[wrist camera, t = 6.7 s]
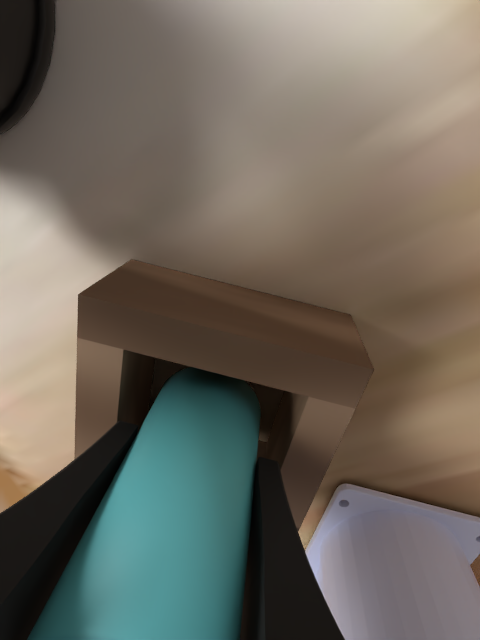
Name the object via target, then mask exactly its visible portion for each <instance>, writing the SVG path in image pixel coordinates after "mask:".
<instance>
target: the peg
mask: <svg viewBox="0 0 480 640" xmlns="http://www.w3.org/2000/svg"><path fill="white" fill-rule="evenodd" d="M260 417H261V409H260V404H259V401H258V398H257V396H256V394H255V392H254V391H253V389H252V388H251V387H250V386H249V385H248V384H247V382H245V381H244V380H241V379H237V378H233V377H229V376H225V375H221V374H218V373H214V372H210V371H206V370H202V369H198V368H194V367H188V368H185V369H182V370H180V371H178V372H176V373H175V374H173V375H172V376H171V377H170V378H169V379H168V380H167V381H166V382H165V383H164V385H163V387H162V389H161V391H160V392H159V394H158V396H157V398H156V400H155V402H154V404H153V405H152V407H151V409H150V411H149V413H148V415H147V417H146V419H145V420H144V422H143V424H142V426H141V428H140V430H139V432H138V433H137V435H136V437H135V439H134V441H133V443H132V445H131V446H130V448H129V450H128V452H127V454H126V456H125V458H124V460H123V461H122V463H121V465H120V467H119V469H118V471H117V473H116V474H115V476H114V478H113V480H112V482H111V484H110V486H109V488H108V489H107V491H106V493H105V495H104V497H103V499H102V501H101V502H100V504H99V506H98V508H97V510H96V512H95V514H94V515H93V517H92V519H91V521H90V523H89V525H88V527H87V529H86V530H85V532H84V534H83V536H82V538H81V540H80V542H79V543H78V545H77V547H76V549H75V551H74V553H73V555H72V557H71V558H70V560H69V562H68V564H67V566H66V568H65V570H64V571H63V573H62V575H61V577H60V579H59V581H58V583H57V584H56V586H55V588H54V590H53V592H52V594H51V596H50V598H49V599H48V601H47V603H46V605H45V607H44V609H43V611H42V612H41V614H40V616H39V618H38V620H37V622H36V624H35V626H34V627H33V629H32V631H31V633H30V635H29V637H28V639H27V640H240V632H241V621H242V611H243V600H244V589H245V578H246V568H247V557H248V546H249V535H250V525H251V514H252V503H253V491H254V481H255V470H256V460H257V449H258V438H259V428H260Z"/></svg>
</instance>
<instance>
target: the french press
mask: <svg viewBox="0 0 480 640" xmlns="http://www.w3.org/2000/svg"><path fill="white" fill-rule="evenodd" d="M54 32H55V3H54V0H0V134H2V133H3V132H5V131H7V130H9V129H11V128H12V127H13V126H14V125H15V124H16V123H17V122H18V121H19V120H20V119H21V118H22V117H23V116H24V115H25V114H26V113H27V112H28V110H29V108H30V107H31V105H32V103H33V102H34V100H35V98H36V97H37V95H38V94H39V92H40V90H41V87H42V84H43V81H44V79H45V76H46V73H47V70H48V67H49V64H50V59H51V52H52V46H53V39H54Z"/></svg>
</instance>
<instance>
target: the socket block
mask: <svg viewBox="0 0 480 640" xmlns="http://www.w3.org/2000/svg"><path fill="white" fill-rule="evenodd" d="M155 358H159V359H163V360H167V361H171V362H174V363H178V364H182V365H186V366H190V367H194V368H198V369H202V370H206V371H210V372H214V373H218V374H221V375H225V376H229V377H233V378H237V379H241V380H245V381H249V382H253V383H257V384H261V385H264V386H268V387H272V388H276V389H280V390H284V394H283V397H282V400H281V403H280V406H279V409H278V411H277V414H276V417H275V420H274V423H273V426H272V429H271V432H270V435H269V437H268V440H267V443H265V442H261V441H258V449H257V460H258V457H263V458H267V459H270V460H274V461H277V462H278V463H279V465H280V471H281V475H282V480H283V484H284V488H285V492H286V495H287V499H288V502H289V506H290V509H291V512H292V516H293V519H294V522H295V525H296V528H297V531H299V529H300V527H301V524H302V522H303V520H304V518H305V516H306V514H307V512H308V509H309V507H310V505H311V503H312V501H313V499H314V497H315V494H316V492H317V490H318V488H319V486H320V484H321V482H322V480H323V477H324V475H325V473H326V471H327V469H328V467H329V465H330V462H331V460H332V458H333V456H334V454H335V452H336V450H337V447H338V445H339V443H340V441H341V439H342V437H343V435H344V433H345V430H346V428H347V426H348V424H349V422H350V420H351V418H352V415H353V413H354V411H355V409H356V407H357V405H358V403H359V400H360V398H361V396H362V394H363V392H364V390H365V388H366V386H367V383H368V381H369V379H370V377H371V375H372V373H373V371H374V368H373V366H372V364H371V361H370V359H369V357H368V354H367V352H366V350H365V347H364V345H363V343H362V340H361V338H360V335H359V333H358V331H357V328H356V326H355V324H354V321H353V319H352V317H351V315H349V314H345V313H341V312H337V311H333V310H329V309H325V308H321V307H317V306H314V305H310V304H306V303H302V302H298V301H294V300H290V299H286V298H282V297H278V296H274V295H270V294H266V293H262V292H258V291H254V290H250V289H246V288H242V287H238V286H234V285H230V284H227V283H223V282H219V281H215V280H211V279H207V278H203V277H199V276H195V275H191V274H187V273H183V272H179V271H175V270H171V269H167V268H163V267H159V266H155V265H151V264H147V263H143V262H140V261H136V260H132V259H131V260H130V261H128V262H127V263H125V264H124V265H122V266H121V267H119V268H118V269H116V270H115V271H113V272H112V273H110V274H108V275H107V276H105V277H104V278H102V279H101V280H99V281H98V282H96V283H95V284H93V285H92V286H90V287H89V288H87V289H86V290H84V291H83V292H81V293H80V294H78V328H77V373H76V418H75V459H76V458H77V457H78V456H80V455H81V454H82V453H83V452H85V451H86V450H87V449H88V448H89V447H90V446H91V445H93V444H94V443H95V442H96V441H97V440H98V439H99V438H101V437H102V436H103V435H104V434H105V433H106V432H107V431H108V430H109V429H110V428H111V427H112V426H114V425H115V424H116V423H117V422H119V421H123V422H127V423H131V424H135V425H138V432H139V430H140V428H141V426H142V424H143V422H144V420H145V419H146V417H147V415H148V413H149V412H148V408H149V401H150V394H151V386H152V379H153V372H154V365H155ZM138 432H137V433H138ZM257 460H256V463H257Z"/></svg>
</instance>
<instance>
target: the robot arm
mask: <svg viewBox="0 0 480 640" xmlns="http://www.w3.org/2000/svg"><path fill="white" fill-rule="evenodd" d="M137 432H138V425H135V424H131V423H127V422H123V421H119V422H117V423H116V424H115V425H114V426H112V427H111V428H110V429H109V430H108V431H107V432H106V433H105V434H104V435H103V436H102V437H101V438H99V439H98V440H97V441H96V442H95V443H94V444H93V445H91V446H90V447H89V448H88V449H87V450H86V451H85V452H83V453H82V454H81V455H80V456H78V457H77V458H76V459H75V460H74V461H72V462H71V463H70V464H69V465H67V466H66V467H65V468H64V469H62V470H61V471H60V472H58V473H57V474H56V475H54V476H53V477H52V478H50V479H49V480H48V481H46V482H45V483H44V484H42V485H41V486H40V487H38V488H37V489H36V490H34V491H33V492H31V493H30V494H29V495H27V496H26V497H24V498H23V499H21V500H20V501H18V502H17V503H15V504H14V505H12V506H11V507H9V508H8V509H6V510H5V511H3V512H2V513H0V640H27V639H28V637H29V635H30V633H31V631H32V629H33V627H34V626H35V624H36V622H37V620H38V618H39V616H40V614H41V612H42V611H43V609H44V607H45V605H46V603H47V601H48V599H49V598H50V596H51V594H52V592H53V590H54V588H55V586H56V584H57V583H58V581H59V579H60V577H61V575H62V573H63V571H64V570H65V568H66V566H67V564H68V562H69V560H70V558H71V557H72V555H73V553H74V551H75V549H76V547H77V545H78V543H79V542H80V540H81V538H82V536H83V534H84V532H85V530H86V529H87V527H88V525H89V523H90V521H91V519H92V517H93V515H94V514H95V512H96V510H97V508H98V506H99V504H100V502H101V501H102V499H103V497H104V495H105V493H106V491H107V489H108V488H109V486H110V484H111V482H112V480H113V478H114V476H115V474H116V473H117V471H118V469H119V467H120V465H121V463H122V461H123V460H124V458H125V456H126V454H127V452H128V450H129V448H130V446H131V445H132V443H133V441H134V439H135V437H136V435H137ZM479 554H480V517H476V516H472V515H468V514H464V513H460V512H456V511H453V510H449V509H445V508H441V507H437V506H433V505H429V504H425V503H422V502H418V501H414V500H410V499H406V498H402V497H398V496H394V495H390V494H387V493H383V492H379V491H375V490H371V489H367V488H363V487H359V486H356V485H352V484H341V485H339V486H338V487H337V488H336V490H335V492H334V494H333V496H332V498H331V500H330V502H329V504H328V506H327V508H326V510H325V512H324V514H323V516H322V518H321V520H320V522H319V524H318V526H317V528H316V530H315V532H314V534H313V536H312V538H311V540H310V542H309V544H308V546H307V548H306V550H304V548H303V545H302V542H301V539H300V537H299V534H298V531H297V528H296V525H295V522H294V519H293V516H292V512H291V509H290V506H289V502H288V499H287V495H286V492H285V488H284V484H283V480H282V475H281V471H280V465H279V463H278V462H277V461H274V460H270V459H267V458H263V457H258V460H257V463H256V470H255V481H254V491H253V503H252V514H251V525H250V535H249V546H248V557H247V568H246V578H245V589H244V600H243V611H242V621H241V632H240V640H480V586H479V584H478V582H477V580H476V578H475V575H474V573H473V571H472V569H471V567H470V565H471V563H472V562H473V561H474V560H475V559H476V558H477V556H478V555H479Z"/></svg>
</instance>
